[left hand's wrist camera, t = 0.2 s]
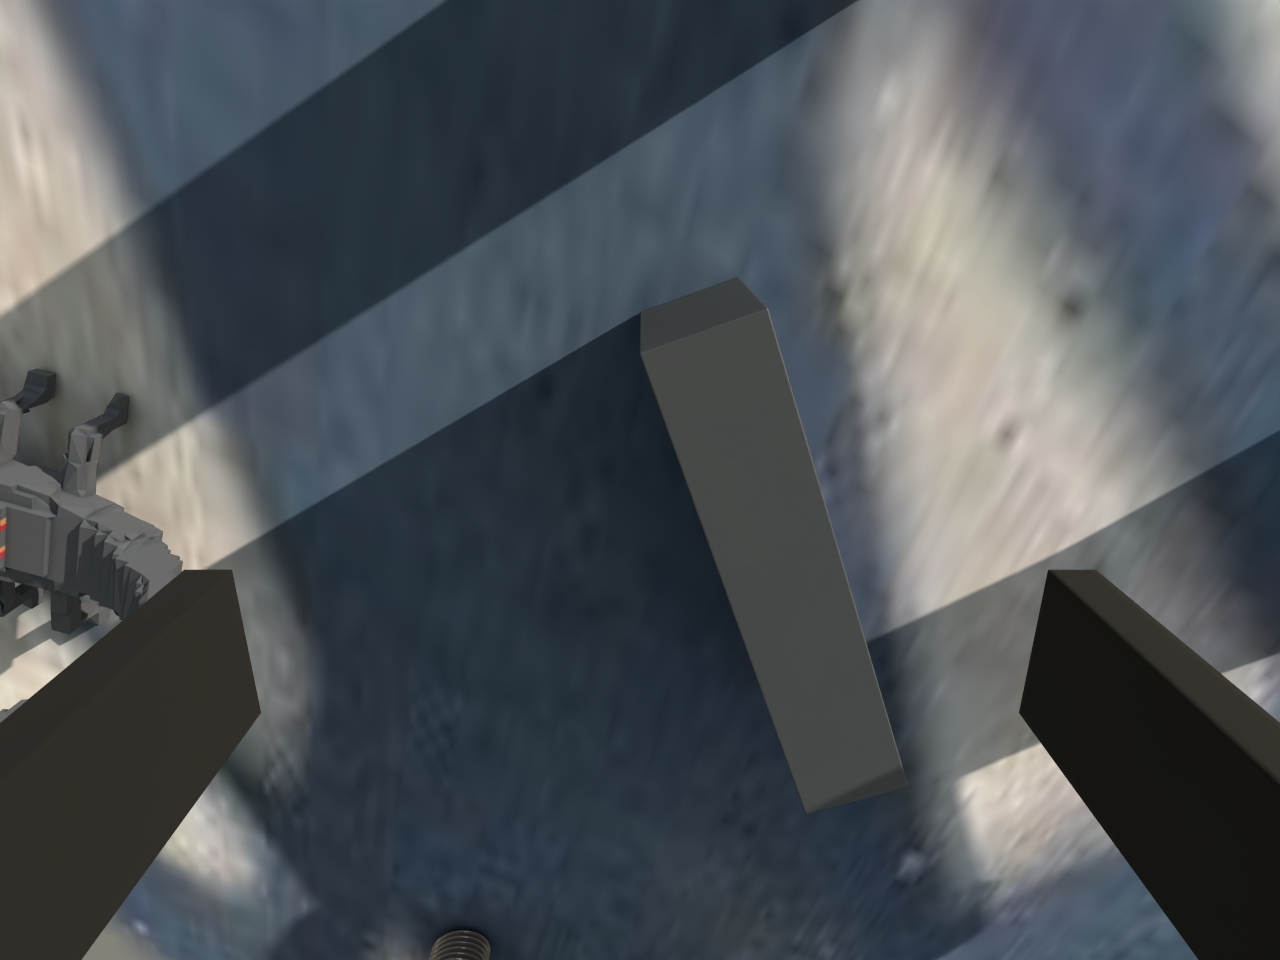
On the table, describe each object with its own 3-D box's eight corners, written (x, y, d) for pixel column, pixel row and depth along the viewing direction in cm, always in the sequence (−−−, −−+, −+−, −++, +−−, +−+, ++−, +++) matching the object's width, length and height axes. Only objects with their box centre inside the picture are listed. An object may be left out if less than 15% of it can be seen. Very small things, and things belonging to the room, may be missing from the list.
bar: (640, 312, 37) (639, 353, 28) (738, 276, 36) (768, 307, 28) (775, 693, 45) (805, 814, 36) (857, 670, 44) (908, 787, 36)
